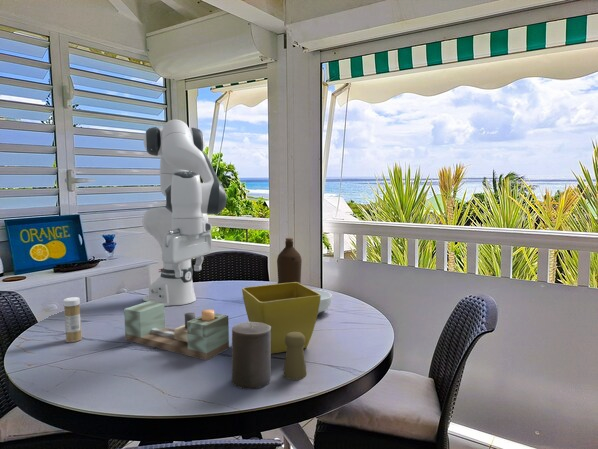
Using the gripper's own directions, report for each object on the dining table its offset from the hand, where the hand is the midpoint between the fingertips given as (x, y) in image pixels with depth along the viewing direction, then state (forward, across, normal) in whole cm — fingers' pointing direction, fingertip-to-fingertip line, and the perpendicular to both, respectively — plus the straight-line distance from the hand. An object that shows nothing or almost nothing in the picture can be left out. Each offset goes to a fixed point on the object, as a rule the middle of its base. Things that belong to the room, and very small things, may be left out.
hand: (188, 273), depth 130 cm
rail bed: (+22, +1, +6) cm, 23 cm away
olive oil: (+23, +66, -6) cm, 70 cm away
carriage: (+20, 0, 0) cm, 20 cm away
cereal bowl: (+23, +45, -22) cm, 55 cm away
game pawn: (+23, -6, -36) cm, 43 cm away
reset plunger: (+14, -1, -7) cm, 16 cm away
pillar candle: (+23, -13, -27) cm, 38 cm away
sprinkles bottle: (+23, -8, +38) cm, 45 cm away
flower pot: (+23, +12, -24) cm, 35 cm away
